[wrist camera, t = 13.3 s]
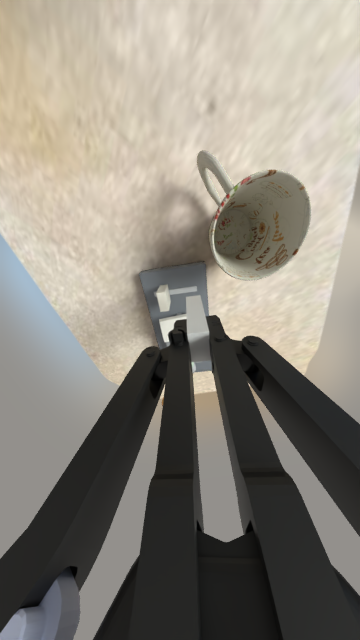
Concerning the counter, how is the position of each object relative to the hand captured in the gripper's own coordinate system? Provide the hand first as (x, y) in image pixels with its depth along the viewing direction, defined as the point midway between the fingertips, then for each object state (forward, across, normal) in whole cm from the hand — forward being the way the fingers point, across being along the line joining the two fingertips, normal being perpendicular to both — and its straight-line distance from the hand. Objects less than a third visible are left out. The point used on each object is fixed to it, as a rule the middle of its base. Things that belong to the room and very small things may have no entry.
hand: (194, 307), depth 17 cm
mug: (+11, +5, +8) cm, 14 cm away
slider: (+8, -4, -1) cm, 9 cm away
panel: (+10, -3, -8) cm, 13 cm away
